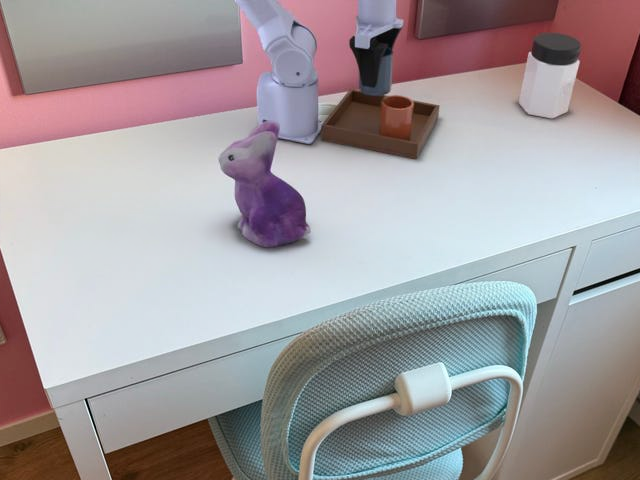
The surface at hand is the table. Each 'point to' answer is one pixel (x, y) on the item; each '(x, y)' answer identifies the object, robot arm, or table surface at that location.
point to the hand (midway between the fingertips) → (374, 78)
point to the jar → (550, 75)
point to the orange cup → (396, 117)
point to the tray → (376, 125)
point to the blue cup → (381, 76)
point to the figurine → (263, 190)
